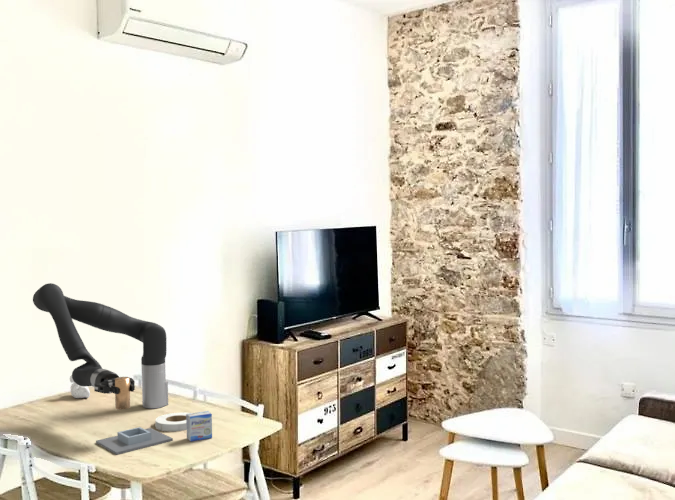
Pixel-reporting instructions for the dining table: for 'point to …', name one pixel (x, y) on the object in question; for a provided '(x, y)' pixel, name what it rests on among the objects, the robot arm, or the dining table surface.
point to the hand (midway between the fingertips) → (125, 389)
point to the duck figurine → (79, 390)
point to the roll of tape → (171, 422)
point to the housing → (133, 440)
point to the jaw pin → (122, 393)
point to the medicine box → (199, 426)
